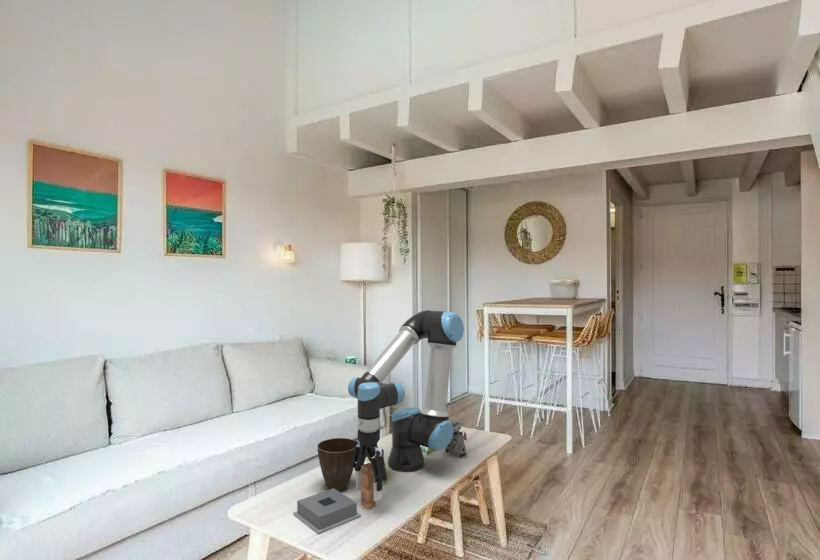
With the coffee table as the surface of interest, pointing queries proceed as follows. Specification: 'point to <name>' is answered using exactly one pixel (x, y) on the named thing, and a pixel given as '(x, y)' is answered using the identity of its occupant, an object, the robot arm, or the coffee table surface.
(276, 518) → the coffee table surface
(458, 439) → the figurine
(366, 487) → the peg
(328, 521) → the socket block
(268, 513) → the coffee table surface
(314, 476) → the coffee table surface
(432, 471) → the coffee table surface
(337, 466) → the plant pot
